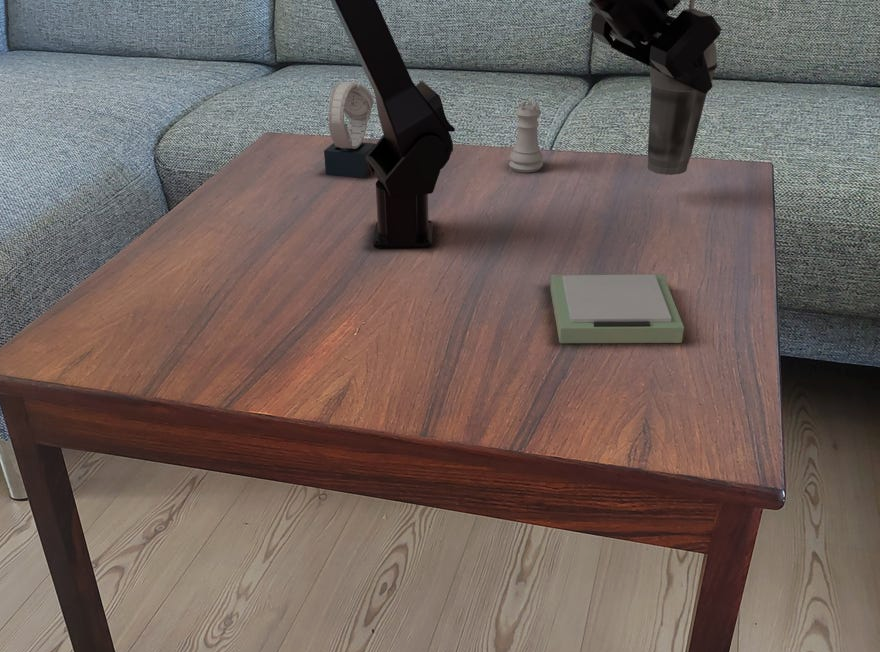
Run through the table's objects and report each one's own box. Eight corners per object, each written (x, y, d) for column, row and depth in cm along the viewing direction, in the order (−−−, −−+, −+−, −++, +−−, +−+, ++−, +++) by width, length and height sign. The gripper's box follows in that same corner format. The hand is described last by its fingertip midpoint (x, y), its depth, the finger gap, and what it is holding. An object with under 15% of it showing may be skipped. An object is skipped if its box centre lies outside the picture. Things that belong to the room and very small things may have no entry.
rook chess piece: (503, 171, 121) (505, 107, 116) (515, 160, 124) (517, 98, 120) (536, 175, 120) (539, 111, 115) (547, 164, 123) (551, 101, 118)
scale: (681, 343, 84) (685, 323, 83) (559, 343, 85) (561, 324, 84) (661, 288, 93) (663, 270, 92) (550, 289, 94) (551, 271, 93)
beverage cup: (700, 160, 111) (733, -27, 99) (697, 181, 106) (731, -14, 94) (638, 155, 113) (663, -29, 101) (632, 176, 108) (657, -17, 96)
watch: (382, 162, 126) (378, 76, 119) (359, 182, 120) (354, 93, 113) (343, 158, 127) (337, 73, 121) (319, 178, 121) (312, 91, 115)
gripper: (721, -79, 86) (798, 40, 95) (628, -99, 100) (703, 5, 109) (631, 21, 89) (714, 127, 98) (555, -13, 103) (633, 82, 112)
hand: (691, 81), depth 104 cm, fingers closed on beverage cup, 7 cm apart
